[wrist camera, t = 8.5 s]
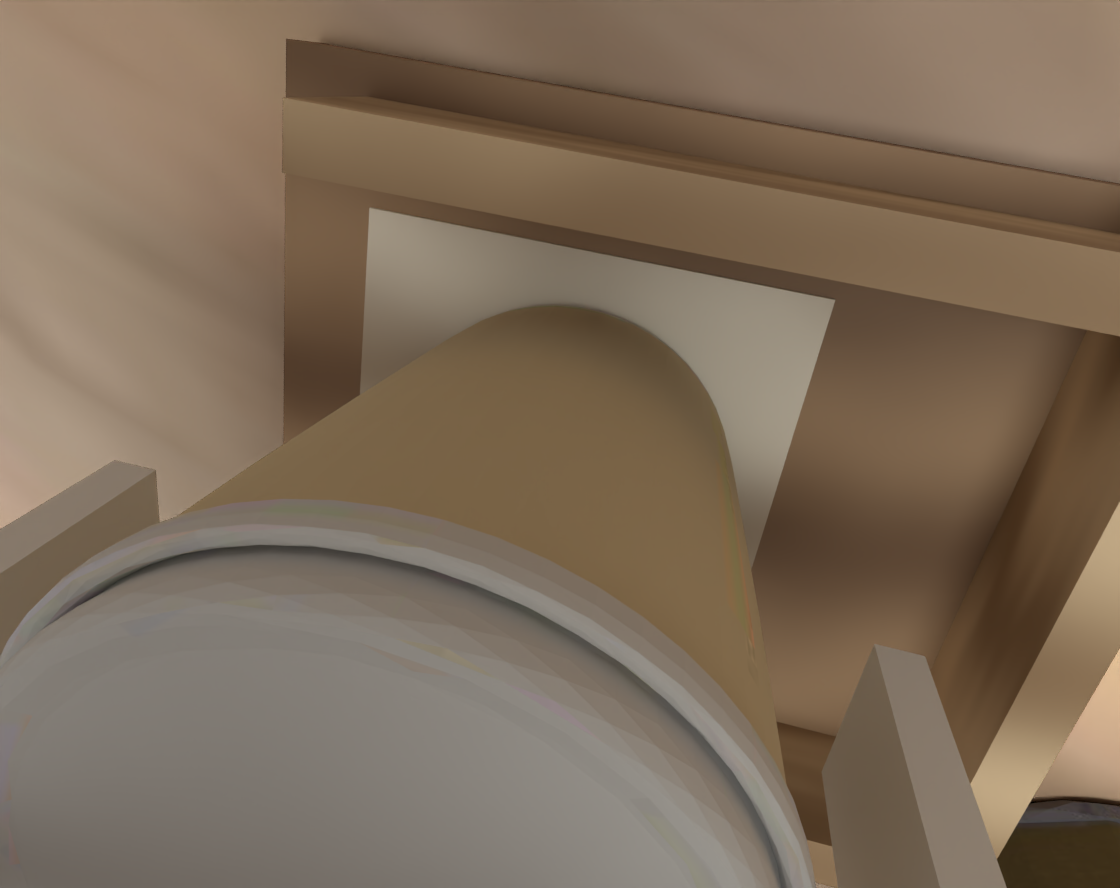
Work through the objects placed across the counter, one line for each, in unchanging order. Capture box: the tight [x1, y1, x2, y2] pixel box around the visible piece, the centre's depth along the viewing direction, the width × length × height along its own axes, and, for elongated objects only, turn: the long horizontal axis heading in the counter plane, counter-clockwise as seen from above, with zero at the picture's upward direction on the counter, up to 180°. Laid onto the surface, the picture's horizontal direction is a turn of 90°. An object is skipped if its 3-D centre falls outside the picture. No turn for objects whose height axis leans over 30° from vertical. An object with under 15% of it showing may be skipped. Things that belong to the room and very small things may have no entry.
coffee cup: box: [0, 305, 816, 888], centre depth 13 cm, size 9×9×12 cm
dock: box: [282, 39, 1120, 888], centre depth 18 cm, size 16×18×5 cm
